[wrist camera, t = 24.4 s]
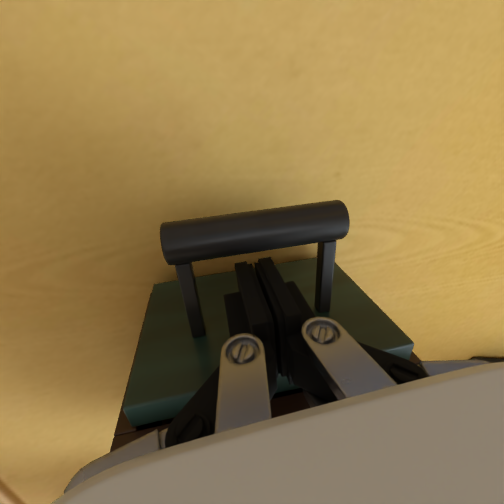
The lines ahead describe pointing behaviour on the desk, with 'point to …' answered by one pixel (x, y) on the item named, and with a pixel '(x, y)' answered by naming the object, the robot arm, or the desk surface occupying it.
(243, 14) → the desk surface
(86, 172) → the desk surface
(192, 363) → the drawer
